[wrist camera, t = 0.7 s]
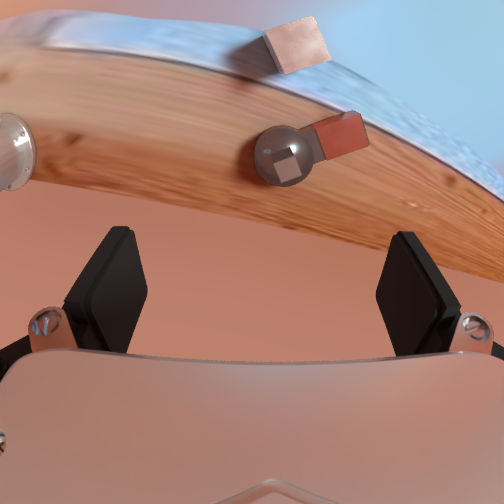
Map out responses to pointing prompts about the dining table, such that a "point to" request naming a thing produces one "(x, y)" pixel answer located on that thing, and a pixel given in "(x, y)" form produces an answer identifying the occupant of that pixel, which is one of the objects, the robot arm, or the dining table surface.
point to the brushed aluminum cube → (296, 45)
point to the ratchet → (306, 147)
